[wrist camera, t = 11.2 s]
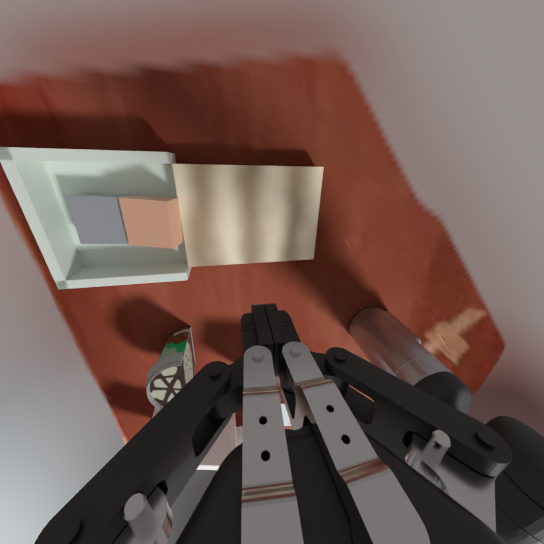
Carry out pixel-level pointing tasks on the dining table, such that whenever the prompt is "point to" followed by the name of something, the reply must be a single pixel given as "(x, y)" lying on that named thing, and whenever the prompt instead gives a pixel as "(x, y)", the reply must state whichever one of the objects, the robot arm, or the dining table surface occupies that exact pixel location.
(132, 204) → the tile
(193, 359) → the food container
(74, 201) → the tile
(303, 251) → the beige slab
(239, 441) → the bracket
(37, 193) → the tray
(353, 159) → the dining table surface
